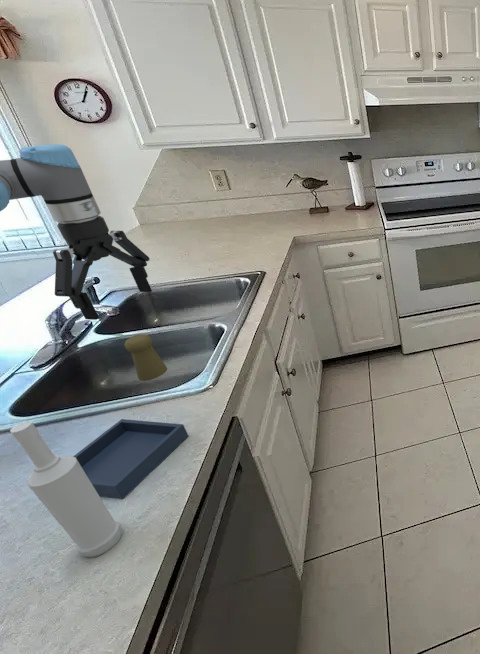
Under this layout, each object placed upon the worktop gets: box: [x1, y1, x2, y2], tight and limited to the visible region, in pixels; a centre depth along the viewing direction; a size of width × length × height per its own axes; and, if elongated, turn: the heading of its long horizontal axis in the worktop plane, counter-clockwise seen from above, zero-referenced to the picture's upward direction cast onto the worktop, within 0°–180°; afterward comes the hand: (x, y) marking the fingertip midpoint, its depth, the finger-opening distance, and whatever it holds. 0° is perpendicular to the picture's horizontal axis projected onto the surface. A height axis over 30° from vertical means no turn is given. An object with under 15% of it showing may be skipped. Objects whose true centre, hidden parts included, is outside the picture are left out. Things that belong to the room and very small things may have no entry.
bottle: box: [9, 420, 123, 558], centre depth 61 cm, size 5×5×25 cm
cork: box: [123, 333, 168, 382], centre depth 103 cm, size 6×6×11 cm
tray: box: [73, 418, 189, 500], centre depth 80 cm, size 15×15×3 cm
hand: (120, 304), depth 99 cm, fingers open, 13 cm apart
